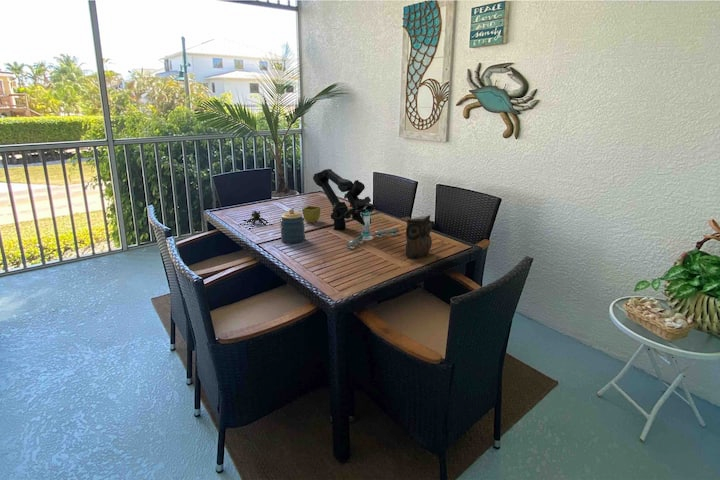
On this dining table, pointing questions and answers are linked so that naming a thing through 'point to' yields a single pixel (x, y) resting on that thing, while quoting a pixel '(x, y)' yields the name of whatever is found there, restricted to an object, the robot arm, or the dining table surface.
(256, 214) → the octopus toy
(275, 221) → the dining table surface
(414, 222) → the owl
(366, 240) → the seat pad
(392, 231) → the shaft
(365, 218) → the coupling
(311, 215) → the flower pot
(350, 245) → the shaft
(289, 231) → the canister
